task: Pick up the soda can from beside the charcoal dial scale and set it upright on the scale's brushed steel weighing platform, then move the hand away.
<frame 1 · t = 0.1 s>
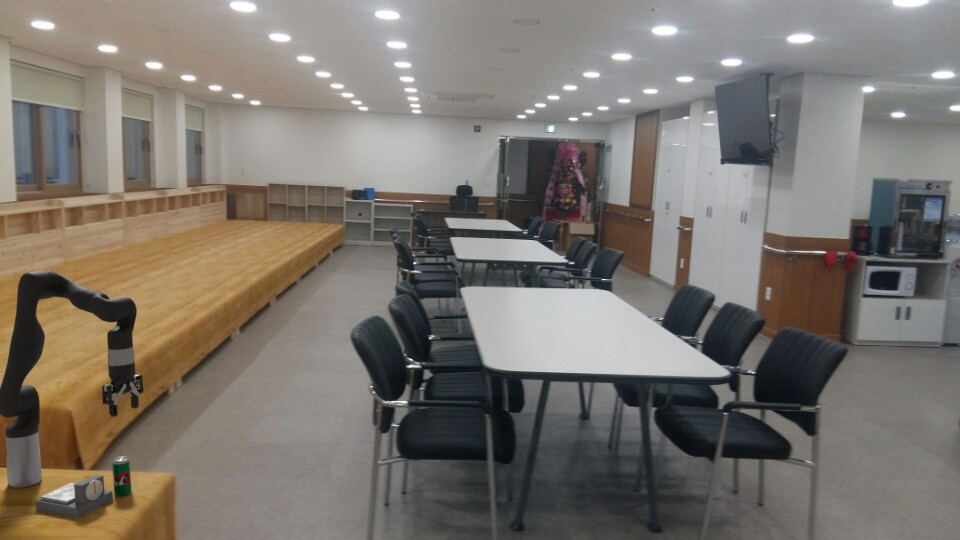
hand: (124, 412, 219), 29 cm above the table, tool pointing down, fingers open, 8 cm apart
scale base: (75, 504, 219), on the table
soda can: (123, 494, 226), on the table
scale platform: (69, 493, 219), point 4 cm above the table, slide at -0.4 cm
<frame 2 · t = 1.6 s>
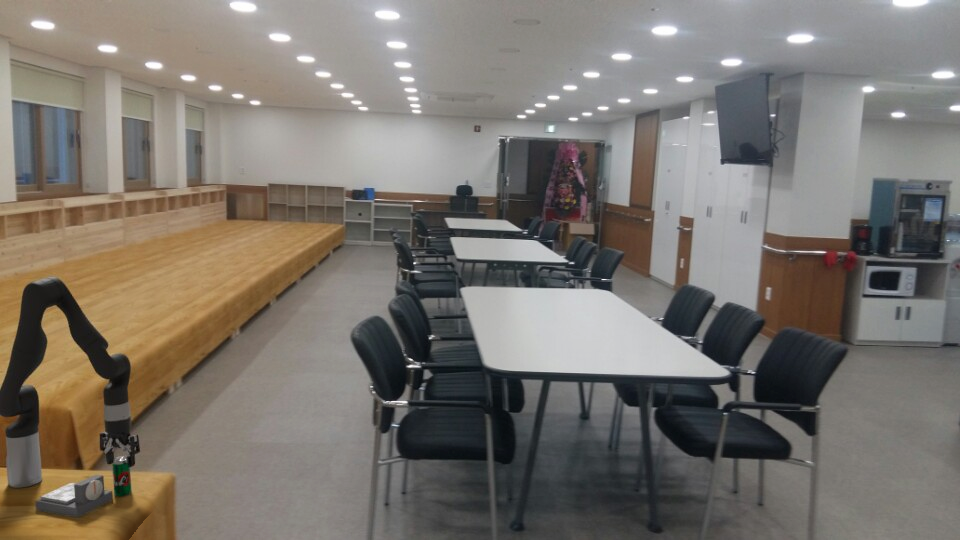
hand: (121, 465, 225), 10 cm above the table, tool pointing down, fingers open, 8 cm apart
nothing on the table moved.
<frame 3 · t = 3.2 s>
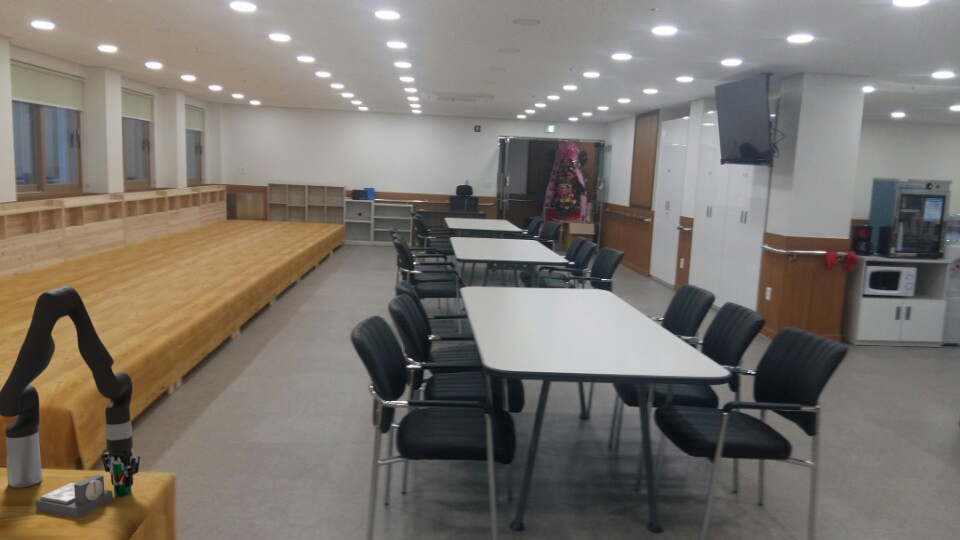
hand: (122, 485, 226), 3 cm above the table, tool pointing down, fingers closed on soda can, 5 cm apart
soda can: (123, 494, 226), on the table, touching gripper
everything else where it was.
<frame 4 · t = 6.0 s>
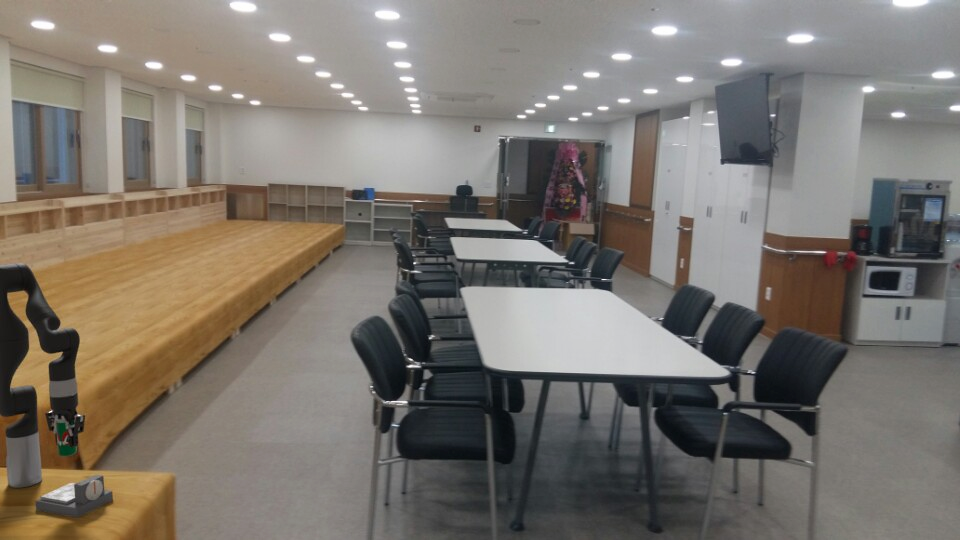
hand: (67, 445, 218), 19 cm above the table, tool pointing down, fingers closed on soda can, 5 cm apart
soda can: (67, 454, 218), point 16 cm above the table, touching gripper
everything else where it was.
when the fingers open (9 cm above the table, at t = 8.9 s): soda can drops 2 cm, resting on scale platform.
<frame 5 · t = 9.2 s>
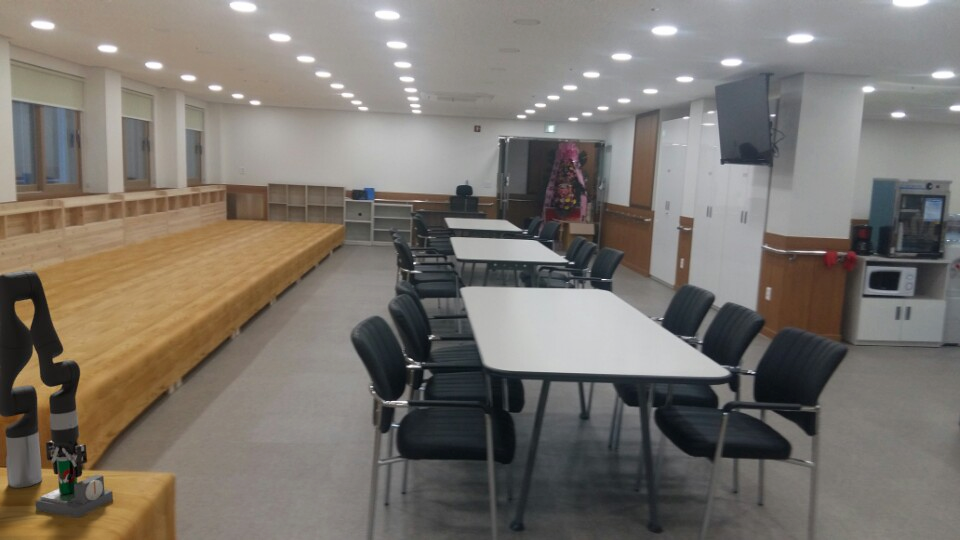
hand: (68, 475, 218), 10 cm above the table, tool pointing down, fingers open, 8 cm apart
soda can: (68, 492, 219), point 4 cm above the table, touching scale platform
scale platform: (69, 493, 219), point 4 cm above the table, slide at -0.5 cm, touching soda can
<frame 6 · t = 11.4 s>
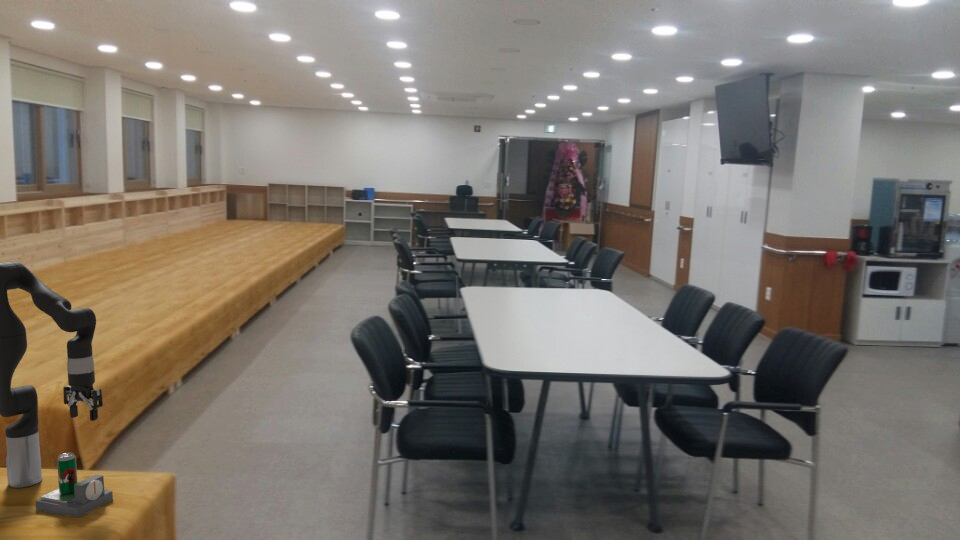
hand: (84, 418, 226), 25 cm above the table, tool pointing down, fingers open, 8 cm apart
nothing on the table moved.
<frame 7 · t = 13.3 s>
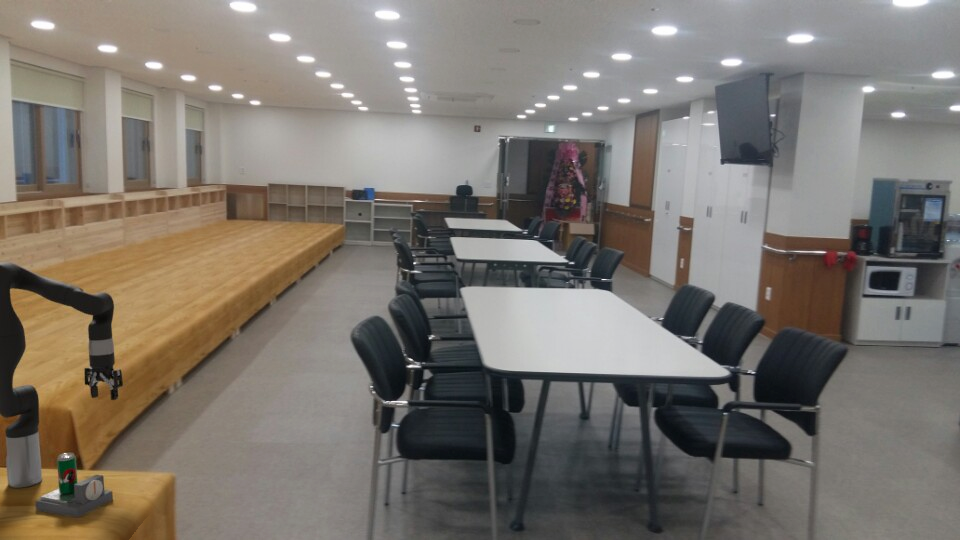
hand: (104, 398, 237), 28 cm above the table, tool pointing down, fingers open, 8 cm apart
nothing on the table moved.
at the end: soda can 0.1 cm off-centre on the scale platform, point 0.8 cm above the scale platform's base; soda can tilted 0°; soda can touching scale platform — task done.
